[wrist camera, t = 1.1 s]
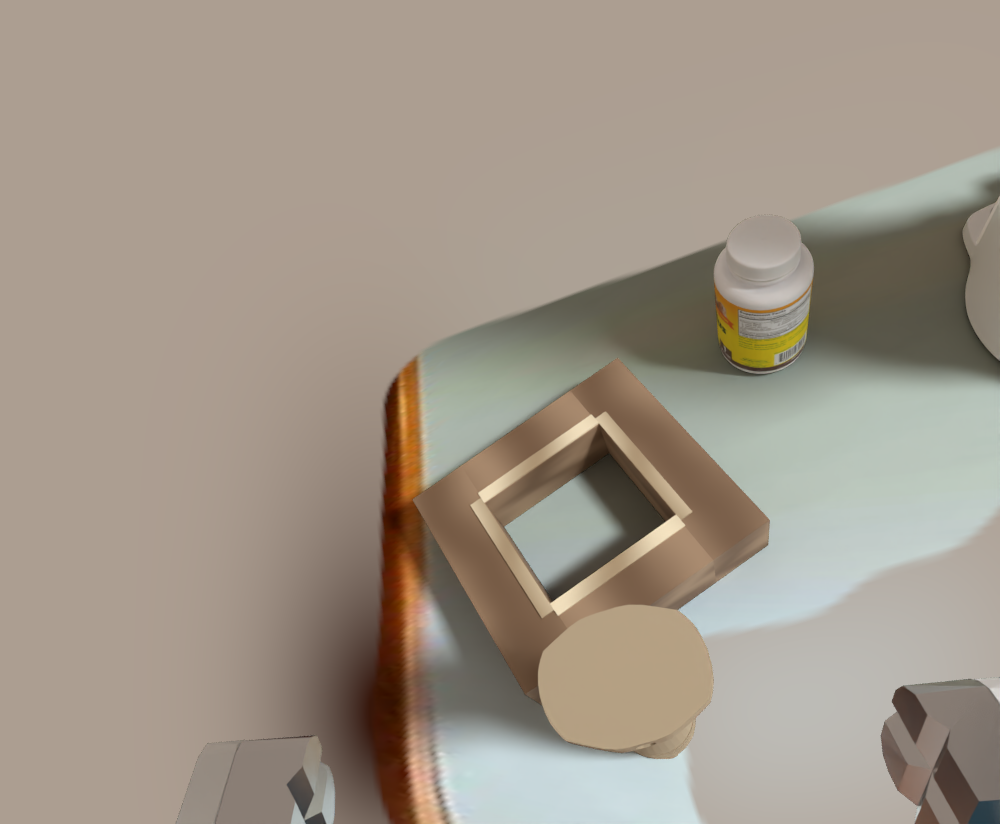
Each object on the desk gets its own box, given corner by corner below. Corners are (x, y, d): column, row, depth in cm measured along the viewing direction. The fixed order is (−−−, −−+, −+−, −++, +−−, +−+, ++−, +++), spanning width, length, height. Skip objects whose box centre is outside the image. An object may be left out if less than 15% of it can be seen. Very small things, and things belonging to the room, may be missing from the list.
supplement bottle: (725, 307, 51) (720, 201, 42) (810, 312, 49) (822, 202, 40) (711, 374, 49) (703, 276, 40) (800, 382, 46) (811, 281, 38)
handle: (593, 697, 41) (525, 635, 28) (704, 664, 40) (683, 585, 27) (619, 791, 38) (557, 768, 26) (738, 758, 37) (733, 717, 25)
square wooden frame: (626, 389, 50) (617, 356, 46) (768, 545, 42) (769, 519, 39) (434, 522, 49) (411, 498, 46) (542, 706, 41) (524, 694, 38)
